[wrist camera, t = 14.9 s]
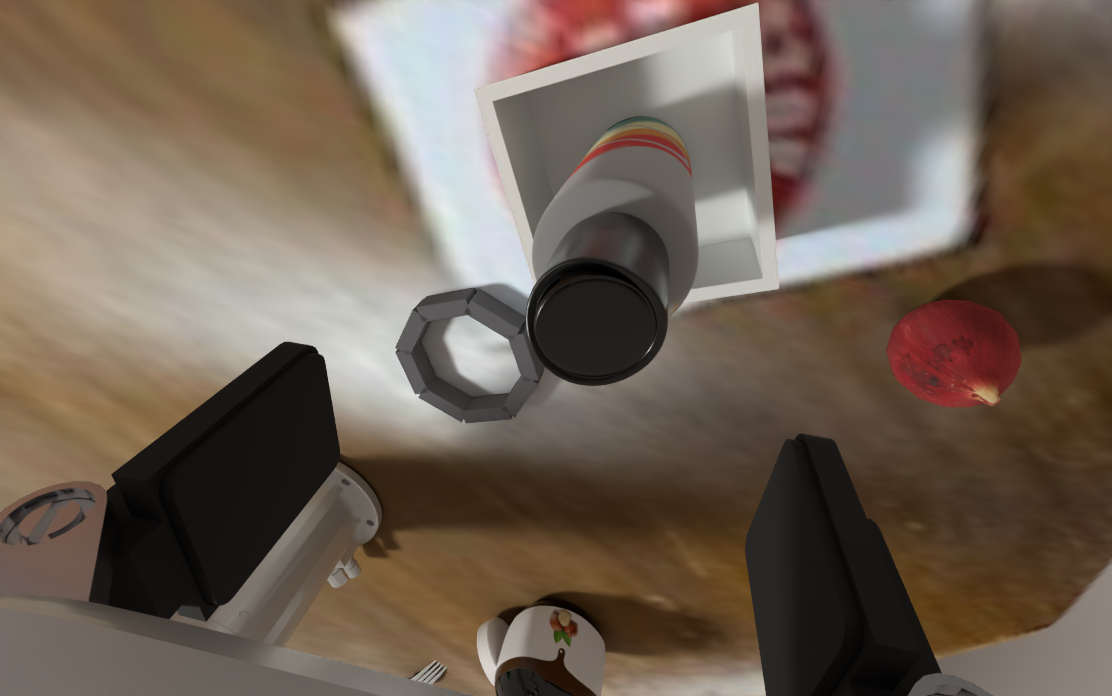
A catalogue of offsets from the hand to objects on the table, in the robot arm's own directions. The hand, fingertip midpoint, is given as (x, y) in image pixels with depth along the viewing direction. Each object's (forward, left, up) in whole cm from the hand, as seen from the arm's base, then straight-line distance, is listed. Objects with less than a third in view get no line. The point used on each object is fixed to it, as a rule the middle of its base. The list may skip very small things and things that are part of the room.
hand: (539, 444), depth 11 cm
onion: (-13, -16, -25) cm, 32 cm away
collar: (-11, +15, -24) cm, 30 cm away
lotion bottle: (0, 0, -24) cm, 24 cm away
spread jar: (-45, +18, -25) cm, 54 cm away
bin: (0, 0, -24) cm, 24 cm away
